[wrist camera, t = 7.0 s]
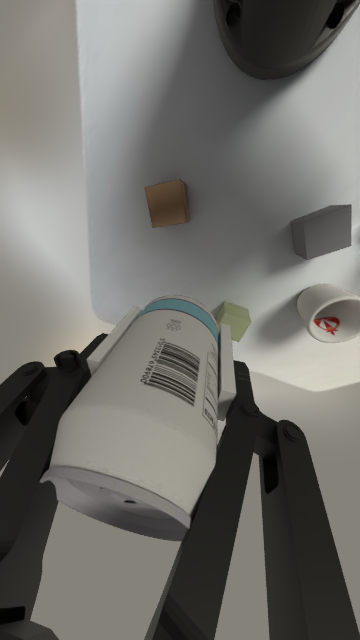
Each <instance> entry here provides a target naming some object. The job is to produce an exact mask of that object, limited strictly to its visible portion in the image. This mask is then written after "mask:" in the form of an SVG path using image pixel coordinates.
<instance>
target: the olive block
mask: <svg viewBox="0 0 360 640" xmlns="http://www.w3.org/2000/svg"><path fill="white" fill-rule="evenodd" d="M216 322H217V325H218V332H219V329H220V325H221V323H222V324H227V325H230V328H231V340H234V341H237V342H239V341H240V339H241V338H242V336H243V335H244V333H245V331H246V330H247V328H248V326H249V325H250V323H251V319H250V316H249V312H248V309H245V308H243V307H240V306H237V305H234V304H231V303H228V302H225V301H224V303H223V305H222V307H221V309H220V311H219V313H218V315H217V318H216Z"/></svg>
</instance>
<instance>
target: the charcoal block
mask: <svg viewBox="0 0 360 640" xmlns="http://www.w3.org/2000/svg"><path fill="white" fill-rule="evenodd" d="M291 226H292V234H293V242H294V250H295V253H296V254H297V255H299V256H301V257H303V258H305V259H306V260H309V259H312V258H315V257H318V256H321V255H324V254H327V253H331V252H334V251H337V250H340V249H343V248H346V247H349V246H351V205H332V206H328V207H325V208H323V209H320V210H318V211H315V212H313V213H310V214H308V215H305V216H303V217H300V218H298V219H295V220H293V221H291Z"/></svg>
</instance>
